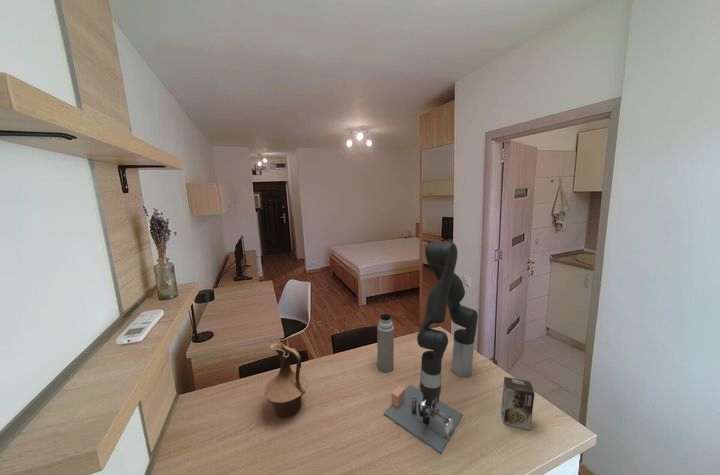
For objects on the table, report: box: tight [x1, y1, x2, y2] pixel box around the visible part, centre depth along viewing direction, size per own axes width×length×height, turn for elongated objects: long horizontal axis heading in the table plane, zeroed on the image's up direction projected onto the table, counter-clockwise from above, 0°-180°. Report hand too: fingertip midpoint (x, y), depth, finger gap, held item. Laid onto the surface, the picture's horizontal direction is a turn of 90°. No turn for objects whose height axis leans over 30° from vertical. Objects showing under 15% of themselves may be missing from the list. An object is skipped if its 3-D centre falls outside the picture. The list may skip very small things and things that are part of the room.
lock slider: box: [391, 385, 406, 408], centre depth 110 cm, size 3×5×6 cm, turn 138°
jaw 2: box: [417, 407, 450, 439], centre depth 98 cm, size 12×2×6 cm, turn 48°
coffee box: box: [500, 376, 535, 431], centre depth 101 cm, size 9×6×16 cm
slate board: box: [383, 384, 464, 455], centre depth 105 cm, size 20×24×1 cm
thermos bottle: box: [376, 313, 395, 374], centre depth 130 cm, size 8×8×28 cm
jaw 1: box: [420, 401, 453, 434], centre depth 100 cm, size 12×2×6 cm, turn 49°
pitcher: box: [264, 342, 309, 419], centre depth 107 cm, size 18×17×28 cm
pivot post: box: [412, 397, 417, 414], centre depth 105 cm, size 2×2×6 cm
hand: (428, 418), depth 101 cm, fingers open, 4 cm apart
